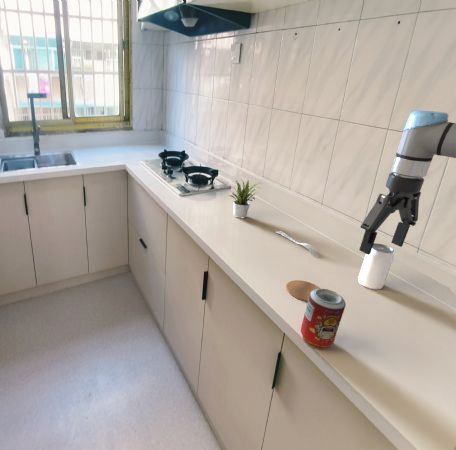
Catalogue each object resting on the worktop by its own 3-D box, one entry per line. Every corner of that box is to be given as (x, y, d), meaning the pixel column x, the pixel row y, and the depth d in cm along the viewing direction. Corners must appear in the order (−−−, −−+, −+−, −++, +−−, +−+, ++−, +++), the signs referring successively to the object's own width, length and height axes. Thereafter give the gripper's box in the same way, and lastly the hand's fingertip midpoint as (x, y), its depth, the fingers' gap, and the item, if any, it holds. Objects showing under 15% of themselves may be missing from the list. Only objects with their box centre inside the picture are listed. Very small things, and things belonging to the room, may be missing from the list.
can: (354, 276, 103) (365, 241, 98) (377, 279, 102) (389, 244, 97) (361, 288, 97) (373, 251, 92) (386, 291, 96) (400, 254, 91)
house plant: (266, 217, 145) (272, 180, 138) (249, 226, 135) (256, 187, 129) (236, 208, 154) (241, 173, 147) (219, 216, 144) (224, 179, 138)
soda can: (310, 353, 73) (323, 306, 68) (293, 330, 80) (304, 287, 75) (339, 350, 74) (354, 304, 69) (320, 328, 81) (333, 285, 76)
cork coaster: (323, 286, 97) (323, 285, 97) (325, 305, 89) (325, 304, 89) (286, 278, 101) (286, 277, 100) (285, 296, 92) (285, 295, 92)
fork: (279, 237, 132) (280, 230, 132) (320, 256, 114) (321, 249, 113) (273, 237, 132) (274, 231, 131) (313, 257, 113) (314, 250, 112)
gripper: (421, 167, 94) (396, 236, 103) (360, 174, 84) (338, 249, 93) (452, 175, 88) (422, 247, 96) (389, 183, 78) (362, 262, 87)
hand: (380, 248), depth 95 cm, fingers open, 13 cm apart
